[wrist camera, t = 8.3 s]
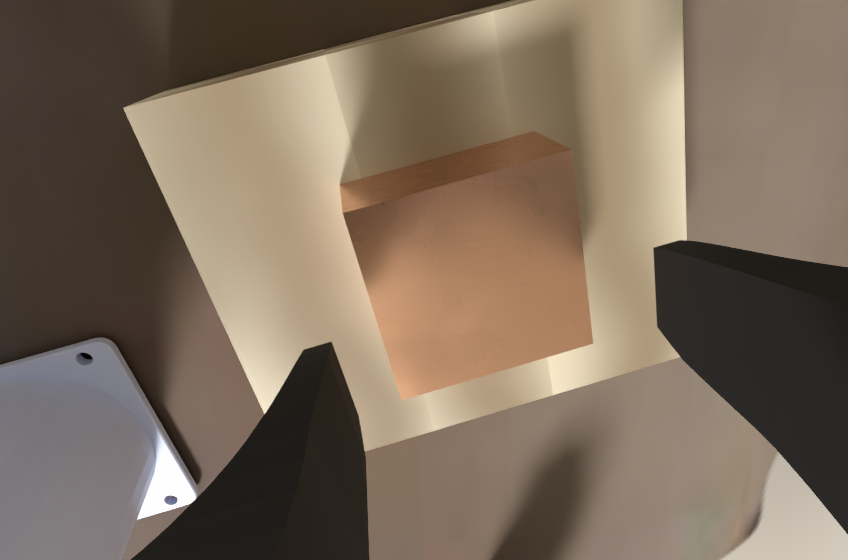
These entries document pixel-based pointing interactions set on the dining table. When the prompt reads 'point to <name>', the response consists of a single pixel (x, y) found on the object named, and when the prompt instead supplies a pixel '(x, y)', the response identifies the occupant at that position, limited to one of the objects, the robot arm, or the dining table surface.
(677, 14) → the holder
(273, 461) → the robot arm
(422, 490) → the dining table surface
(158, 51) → the dining table surface
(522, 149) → the orange brown block
